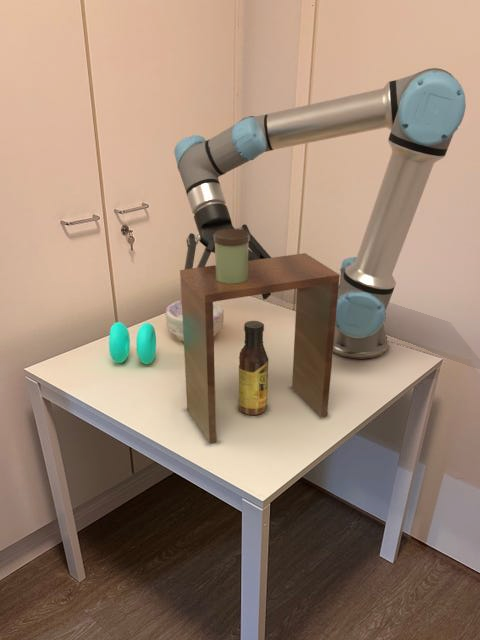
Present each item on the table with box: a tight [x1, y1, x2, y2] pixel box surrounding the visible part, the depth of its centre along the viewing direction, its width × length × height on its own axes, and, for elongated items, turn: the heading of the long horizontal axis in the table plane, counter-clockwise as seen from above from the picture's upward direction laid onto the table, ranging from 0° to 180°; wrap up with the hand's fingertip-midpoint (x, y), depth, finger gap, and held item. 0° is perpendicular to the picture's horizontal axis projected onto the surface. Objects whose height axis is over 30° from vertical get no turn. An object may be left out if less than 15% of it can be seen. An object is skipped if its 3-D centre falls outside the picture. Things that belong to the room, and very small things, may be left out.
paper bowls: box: [165, 299, 225, 343], centre depth 168 cm, size 15×15×8 cm
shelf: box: [179, 252, 340, 444], centre depth 129 cm, size 27×14×32 cm, turn 113°
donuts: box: [108, 321, 157, 365], centre depth 155 cm, size 10×10×10 cm
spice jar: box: [214, 228, 249, 284], centre depth 115 cm, size 6×6×8 cm
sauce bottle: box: [238, 320, 269, 416], centre depth 133 cm, size 7×6×20 cm
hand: (239, 303), depth 135 cm, fingers open, 13 cm apart
